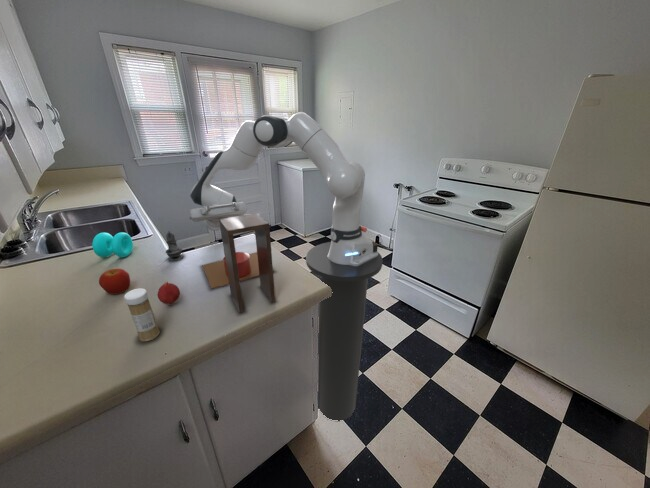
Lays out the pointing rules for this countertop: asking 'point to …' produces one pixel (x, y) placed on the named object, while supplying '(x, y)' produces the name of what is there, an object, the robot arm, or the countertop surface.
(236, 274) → the shelf
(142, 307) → the spice jar
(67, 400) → the countertop surface
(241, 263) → the saucepan
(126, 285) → the apple
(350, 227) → the robot arm
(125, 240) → the donuts
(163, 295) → the onion
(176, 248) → the grey statuette
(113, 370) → the countertop surface
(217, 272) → the mat
